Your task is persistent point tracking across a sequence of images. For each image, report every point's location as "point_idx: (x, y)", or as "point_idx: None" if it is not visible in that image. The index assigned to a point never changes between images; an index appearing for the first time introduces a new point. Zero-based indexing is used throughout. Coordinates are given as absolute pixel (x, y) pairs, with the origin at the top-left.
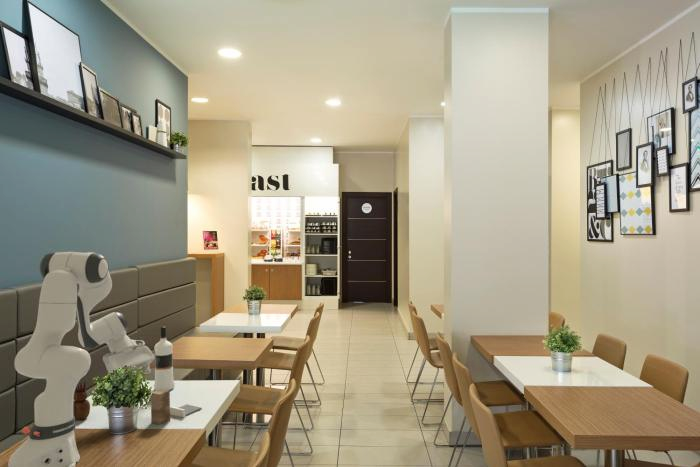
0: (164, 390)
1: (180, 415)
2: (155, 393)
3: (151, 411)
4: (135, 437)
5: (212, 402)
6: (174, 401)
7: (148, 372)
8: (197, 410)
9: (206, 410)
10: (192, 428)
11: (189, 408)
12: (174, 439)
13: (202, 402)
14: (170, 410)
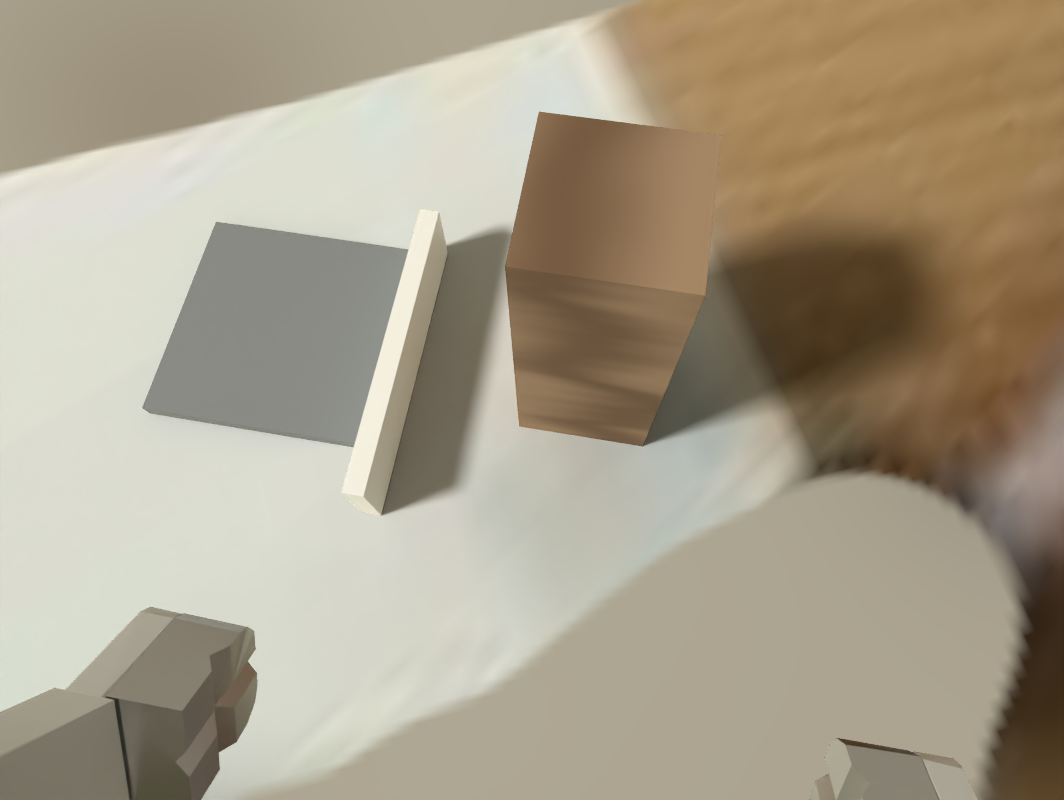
0: (552, 176)
1: (437, 279)
2: (710, 206)
3: (660, 400)
4: (957, 345)
5: (34, 240)
6: (21, 639)
7: (239, 633)
8: (270, 234)
9: (245, 179)
10: (621, 71)
11: (252, 310)
12: (833, 69)
13: (39, 325)
14: (399, 395)
